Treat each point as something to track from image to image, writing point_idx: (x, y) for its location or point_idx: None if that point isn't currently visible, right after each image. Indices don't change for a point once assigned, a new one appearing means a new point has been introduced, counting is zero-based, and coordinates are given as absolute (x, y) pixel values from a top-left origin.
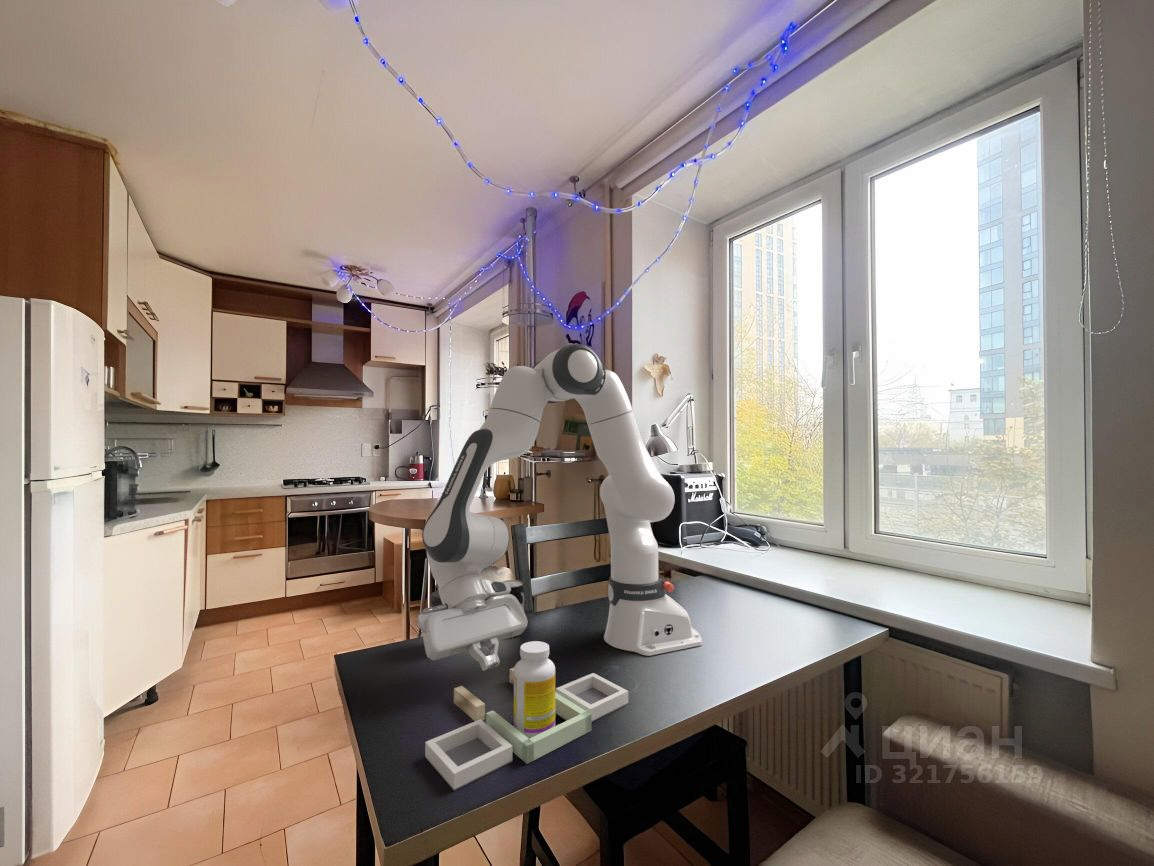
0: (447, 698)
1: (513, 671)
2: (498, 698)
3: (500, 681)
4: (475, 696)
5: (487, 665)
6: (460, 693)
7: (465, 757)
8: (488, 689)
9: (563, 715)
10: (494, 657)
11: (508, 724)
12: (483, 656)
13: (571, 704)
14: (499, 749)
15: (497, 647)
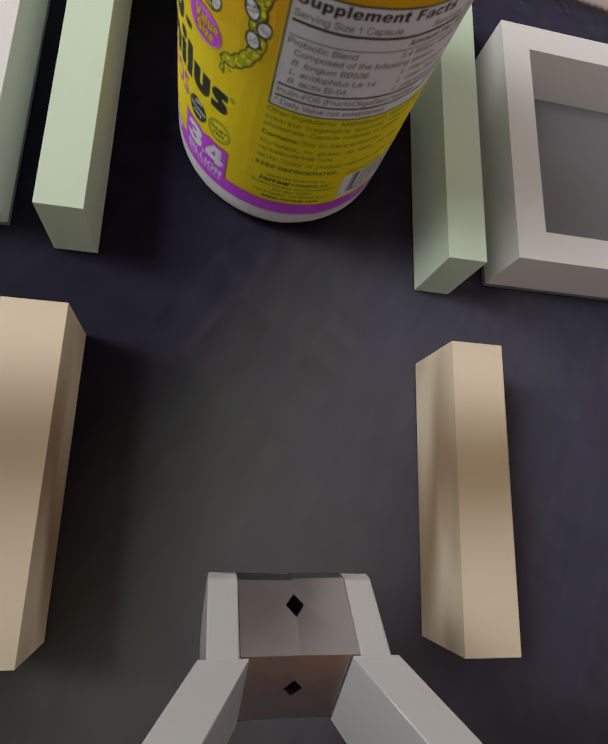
0: (477, 720)
1: (24, 601)
2: (243, 495)
3: (83, 705)
4: (458, 452)
5: (349, 575)
6: (514, 556)
7: (595, 196)
8: None
9: (117, 82)
10: (252, 622)
11: (451, 112)
12: (383, 664)
13: None
14: (549, 43)
15: (164, 724)
